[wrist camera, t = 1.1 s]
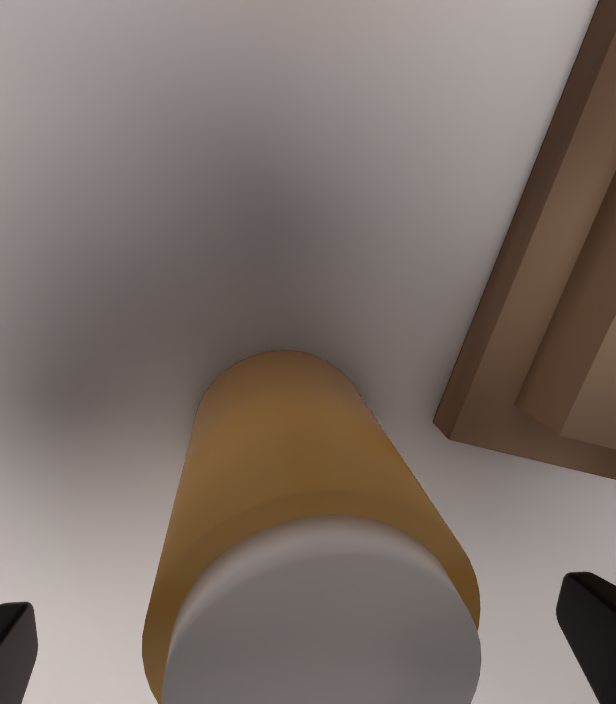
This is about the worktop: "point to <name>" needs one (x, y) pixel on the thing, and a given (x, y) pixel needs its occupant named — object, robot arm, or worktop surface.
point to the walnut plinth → (553, 292)
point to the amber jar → (305, 556)
